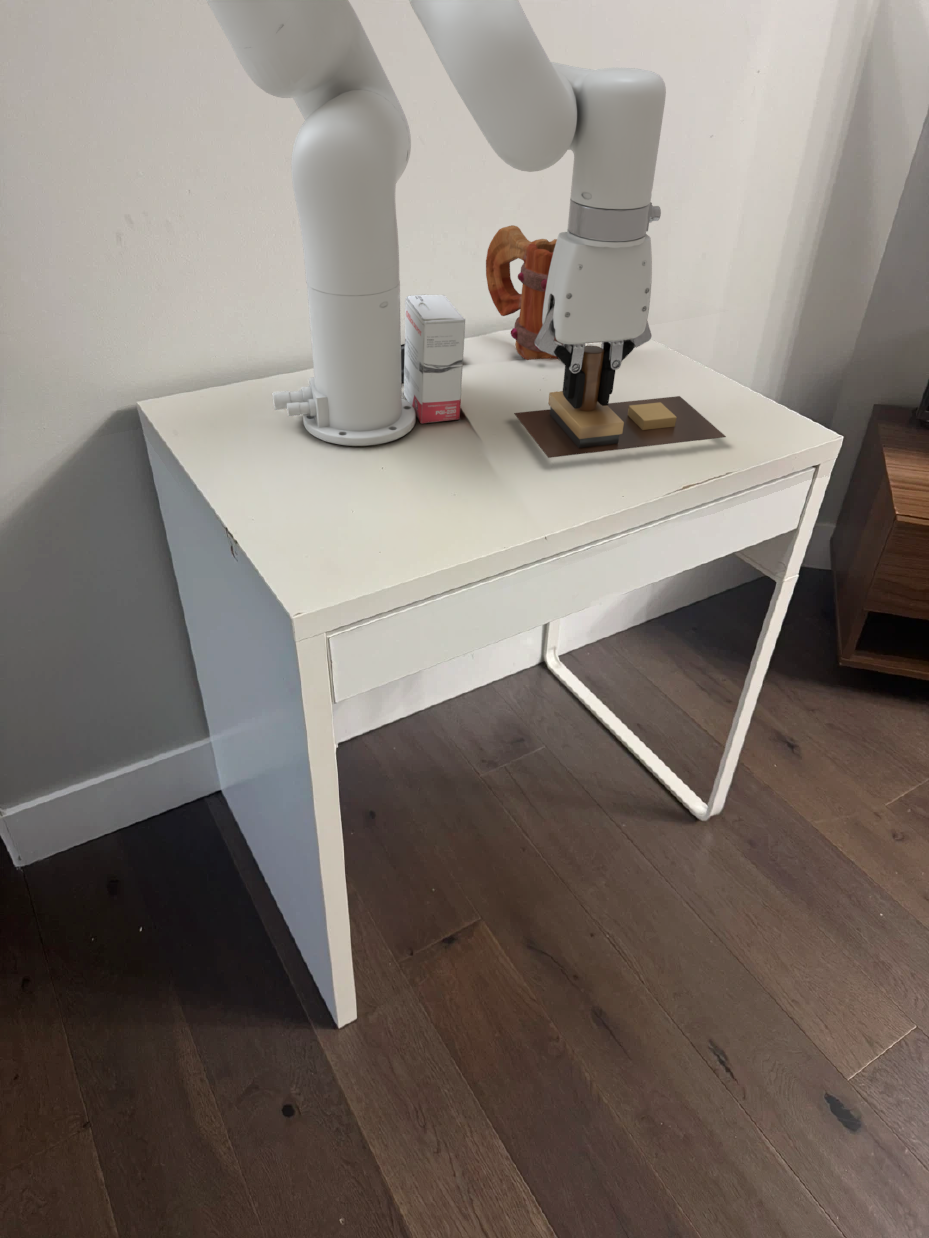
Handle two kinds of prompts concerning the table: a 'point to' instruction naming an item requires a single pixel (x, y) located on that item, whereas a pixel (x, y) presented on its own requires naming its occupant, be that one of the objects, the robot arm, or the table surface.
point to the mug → (534, 278)
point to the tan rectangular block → (651, 416)
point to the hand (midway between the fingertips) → (586, 400)
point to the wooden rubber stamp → (587, 408)
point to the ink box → (433, 357)
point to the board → (686, 429)
